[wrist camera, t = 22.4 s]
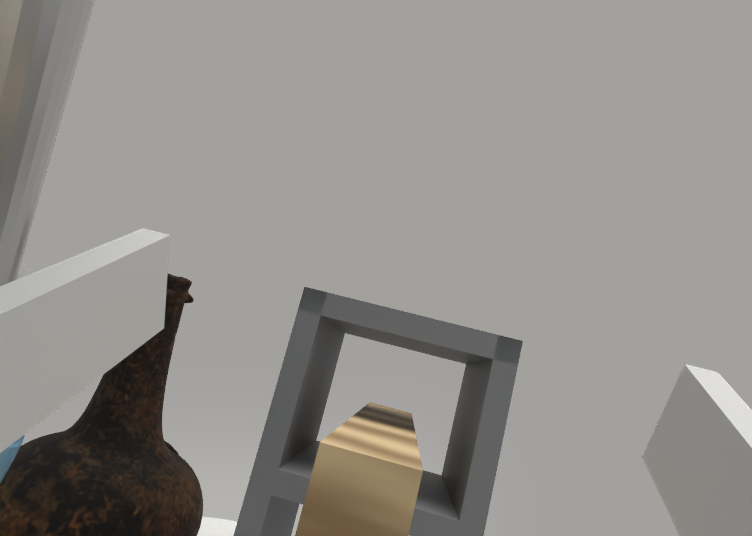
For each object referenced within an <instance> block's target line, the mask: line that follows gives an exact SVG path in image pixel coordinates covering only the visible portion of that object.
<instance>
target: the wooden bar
mask: <svg viewBox="0 0 752 536" xmlns="http://www.w3.org/2000/svg"><path fill="white" fill-rule="evenodd" d="M422 473H423V469H422V464H421V459H420V454H419V449H418V444H417V439H416V434H415V429H414V424H413V419H412V414H411V413H408V412H404V411H400V410H397V409H393V408H389V407H385V406H382V405H378V404H374V403H369V404H367V405H366V406H365V407H364V408H362V409H361V410H360V411H359V412H357V413H356V414H355V415H353V416H352V417H351V418H350V419H348V420H347V421H346V422H345V423H343V424H342V425H341V426H340V427H338V428H337V429H336V430H335V431H333V432H332V433H331V434H330V435H328V436H327V437H326V438H325V439H324V440H322V441H321V442H320V444H319V448H318V451H317V455H316V459H315V463H314V467H313V470H312V474H311V478H310V482H309V485H308V489H307V493H306V497H305V501H304V504H303V508H302V512H301V516H300V519H299V523H298V528H297V531H296V535H295V536H408V534H409V530H410V526H411V521H412V517H413V512H414V508H415V503H416V499H417V495H418V490H419V486H420V481H421V477H422Z"/></svg>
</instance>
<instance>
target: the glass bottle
mask: <svg viewBox="0 0 752 536" xmlns="http://www.w3.org/2000/svg"><path fill="white" fill-rule="evenodd" d="M191 283H192V282H191V281H190V280H188V279H186V278H182V277H176V276H173V275H171V274H168V275H167V290H166V306H165V321H164V329H162V330H161V331H160V332H158V333H157V334H156V335H155V336H153V337H152V338H151V339H149V340H148V341H147V342H145V343H144V344H143V345H141V346H140V347H139V348H137V349H136V350H135V351H134V352H132V353H131V354H130V355H128V356H127V357H126V358H124V359H123V360H122V361H120V362H119V363H118V364H117V365H115V366H114V367H113V368H111V369H110V370H109V371H107V372H106V373H105V374H104V375H103V377H102V379H101V381H100V383H99V385H98V388H97V390H96V391H95V393H94V395H93V397H92V399H91V401H90V403H89V404H88V406H87V408H86V410H85V411H84V413H83V414H82V416H81V417H80V418H79V420H78V421H77V422H76V423H75V424H74V425H73V426H72V427H71V428H69V429H68V430H66V431H63V432H59V433H54V434H50V435H46V436H42V437H39V438H37V439H34V440H32V441H30V442H28V443H26V444H24V445H22V446H20V448H19V450H18V452H17V454H16V456H15V458H14V460H13V462H12V464H11V465H10V467H9V469H8V471H7V473H6V474H5V476H4V478H3V479H2V481H1V483H0V536H197V533H198V531H199V528H200V524H201V520H202V512H203V499H202V491H201V488H200V484H199V481H198V479H197V477H196V475H195V473H194V471H193V470H192V468H191V467H190V466H189V464H188V463H187V462H186V461H185V460H183V459H182V458H181V457H180V456H179V455H178V453H177V451H176V450H175V449H174V448H173V447H172V446H171V445H170V444H169V443H167V442H165V441H164V439H163V434H162V410H163V401H164V392H165V386H166V379H167V375H168V369H169V364H170V359H171V355H172V350H173V345H174V341H175V335H176V333H177V329H178V326H179V321H180V317H181V314H182V310H183V306H184V303H191V302H193V298H192V297H191V295H189V293H188V290H189V288H190V286H191Z"/></svg>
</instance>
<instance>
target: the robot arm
mask: <svg viewBox="0 0 752 536" xmlns="http://www.w3.org/2000/svg"><path fill="white" fill-rule="evenodd" d="M94 2H95V0H0V483H1V481H2V479H3V478H4V476H5V474H6V473H7V471H8V469H9V467H10V465H11V464H12V462H13V460H14V458H15V456H16V454H17V452H18V450H19V448H20V446H21V444H22V441H23V438H24V435H25V434H26V433H27V432H29V431H30V430H31V429H33V428H34V427H35V426H36V425H38V424H39V423H40V422H42V421H43V420H44V419H46V418H47V417H48V416H50V415H51V414H52V413H54V412H55V411H56V410H57V409H59V408H60V407H61V406H63V405H64V404H65V403H66V402H68V401H69V400H70V399H72V398H73V397H74V396H76V395H77V394H78V393H80V392H81V391H82V390H84V389H85V388H86V387H88V386H89V385H90V384H92V383H93V382H94V381H96V380H97V379H98V378H99V377H101V376H102V375H103V374H105V373H106V372H107V371H109V370H110V369H111V368H113V367H114V366H115V365H117V364H118V363H119V362H120V361H122V360H123V359H124V358H126V357H127V356H128V355H130V354H131V353H132V352H134V351H135V350H136V349H137V348H139V347H140V346H141V345H143V344H144V343H145V342H147V341H148V340H149V339H151V338H152V337H153V336H155V335H156V334H157V333H158V332H160V331H161V330H162V329H164V321H165V306H166V290H167V275H168V259H169V244H170V235H168V234H164V233H160V232H156V231H152V230H148V229H144V228H142V229H140V230H137V231H135V232H132V233H130V234H128V235H125V236H123V237H120V238H118V239H116V240H113V241H110V242H108V243H105V244H103V245H101V246H98V247H96V248H93V249H91V250H88V251H86V252H83V253H81V254H79V255H76V256H74V257H71V258H69V259H66V260H64V261H61V262H59V263H57V264H54V265H51V266H49V267H47V268H44V269H42V270H39V271H37V272H34V273H32V272H31V271H30V270H29V268H28V267H27V266H26V265H25V264H24V263H23V262H22V257H23V253H24V250H25V246H26V243H27V239H28V235H29V232H30V229H31V225H32V221H33V218H34V214H35V211H36V207H37V203H38V200H39V197H40V193H41V189H42V186H43V182H44V179H45V175H46V172H47V168H48V164H49V161H50V157H51V154H52V151H53V147H54V143H55V140H56V136H57V133H58V129H59V126H60V122H61V119H62V115H63V112H64V108H65V104H66V101H67V97H68V94H69V90H70V87H71V83H72V80H73V76H74V72H75V69H76V65H77V62H78V58H79V54H80V51H81V48H82V44H83V41H84V37H85V33H86V30H87V26H88V23H89V19H90V16H91V12H92V8H93V5H94ZM642 458H643V460H644V462H645V464H646V466H647V468H648V470H649V472H650V475H651V477H652V479H653V481H654V483H655V485H656V487H657V489H658V491H659V494H660V496H661V498H662V500H663V502H664V504H665V506H666V508H667V510H668V513H669V515H670V517H671V519H672V521H673V523H674V525H675V527H676V529H677V531H678V533H679V535H680V536H752V410H751V409H750V408H749V407H748V405H747V404H746V403H745V402H744V401H743V400H742V399H741V398H740V397H739V395H738V394H737V393H736V392H735V391H734V390H733V389H732V388H731V387H730V385H729V384H728V383H727V382H726V381H725V380H724V379H723V377H722V376H721V375H720V374H719V373H718V372H715V371H711V370H706V369H703V368H698V367H695V366H690V365H686V364H684V367H683V369H682V371H681V373H680V375H679V377H678V380H677V382H676V384H675V386H674V388H673V391H672V393H671V395H670V397H669V399H668V401H667V404H666V406H665V408H664V410H663V412H662V415H661V417H660V419H659V421H658V423H657V425H656V427H655V430H654V432H653V434H652V436H651V439H650V441H649V443H648V445H647V447H646V449H645V452H644V454H643V456H642Z"/></svg>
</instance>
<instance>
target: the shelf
mask: <svg viewBox="0 0 752 536" xmlns="http://www.w3.org/2000/svg"><path fill="white" fill-rule="evenodd" d="M345 333H347V334H351V335H355V336H359V337H363V338H367V339H371V340H375V341H379V342H383V343H387V344H390V345H395V346H398V347H402V348H406V349H410V350H414V351H418V352H422V353H425V354H429V355H433V356H438V357H441V358H445V359H449V360H453V361H457V362H461V363H465V364H466V368H465V372H464V376H463V381H462V385H461V390H460V395H459V399H458V404H457V408H456V413H455V417H454V422H453V427H452V431H451V435H450V440H449V444H448V449H447V453H446V459H445V463H444V468H443V472H442V475H438V474H434V473H431V472H427V471H423V473H422V477H421V481H420V486H419V490H418V495H417V499H416V503H415V508H414V512H413V517H412V521H411V526H410V530H409V534H408V535H410V536H483V535H484V530H485V525H486V520H487V515H488V510H489V505H490V500H491V495H492V491H493V485H494V480H495V476H496V471H497V466H498V461H499V455H500V451H501V446H502V441H503V436H504V431H505V426H506V421H507V416H508V411H509V406H510V402H511V396H512V391H513V387H514V382H515V376H516V372H517V367H518V362H519V357H520V352H521V347H522V341H520V340H516V339H512V338H508V337H504V336H499V335H496V334H492V333H488V332H484V331H480V330H476V329H472V328H468V327H464V326H459V325H456V324H452V323H447V322H443V321H439V320H435V319H432V318H428V317H423V316H419V315H416V314H412V313H407V312H404V311H399V310H395V309H391V308H387V307H383V306H379V305H375V304H371V303H367V302H363V301H359V300H355V299H351V298H347V297H343V296H339V295H335V294H331V293H327V292H323V291H319V290H315V289H311V288H307V287H304V291H303V294H302V298H301V301H300V305H299V308H298V312H297V315H296V319H295V322H294V326H293V329H292V333H291V336H290V340H289V343H288V347H287V350H286V354H285V357H284V361H283V364H282V368H281V371H280V375H279V378H278V382H277V386H276V389H275V392H274V396H273V399H272V403H271V406H270V410H269V413H268V417H267V420H266V424H265V427H264V431H263V434H262V438H261V441H260V445H259V449H258V452H257V455H256V459H255V462H254V466H253V469H252V473H251V476H250V480H249V484H248V487H247V491H246V494H245V498H244V501H243V505H242V508H241V512H240V515H239V519H238V522H237V526H236V529H235V533H234V536H291V533H292V530H293V526H294V522H295V518H296V515H297V511H298V507H299V503H300V504H304V501H305V497H306V493H307V489H308V485H309V482H310V478H311V474H312V470H313V467H314V463H315V459H316V455H317V451H318V448H319V444H320V442H319V441H316V439H317V436H318V432H319V428H320V424H321V421H322V417H323V413H324V409H325V405H326V402H327V398H328V394H329V391H330V387H331V383H332V379H333V376H334V372H335V368H336V364H337V360H338V357H339V353H340V349H341V345H342V342H343V338H344V334H345Z"/></svg>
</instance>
